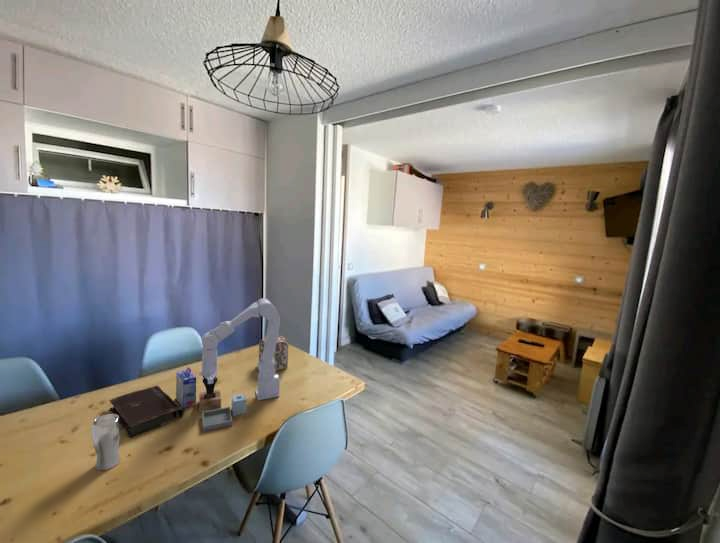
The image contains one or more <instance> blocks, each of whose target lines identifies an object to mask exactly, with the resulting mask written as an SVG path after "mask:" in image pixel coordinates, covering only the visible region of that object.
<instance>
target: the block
mask: <svg viewBox="0 0 720 543" xmlns="http://www.w3.org/2000/svg"><path fill="white" fill-rule="evenodd" d="M231 411H232V412H231V414H232V416H239V415H244V414H247V397H246V394H245V393H241V394H234V395H231Z"/></svg>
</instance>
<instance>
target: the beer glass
mask: <svg viewBox="0 0 720 543" xmlns="http://www.w3.org/2000/svg"><path fill="white" fill-rule="evenodd" d="M120 439H121V425H120V421H119V416H118V415H117V414H113V413H109V414H108V413H107V414H103V415H101V416H98V417H96V418H95V419H93V421H92V422H91V441H92V445H93V448H94V451H95V454H96V463H95V469H96V470H97V471H102V472H103V471H109V470H110V469H112V468H114V467H116V466H117V465H118V464H119V463H120V462H121V456H120V453H119V445H120Z"/></svg>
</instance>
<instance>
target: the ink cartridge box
mask: <svg viewBox="0 0 720 543" xmlns="http://www.w3.org/2000/svg"><path fill="white" fill-rule="evenodd" d="M175 374H176V375H175V378H176V379H175V380H176V382H175V385H176V386H175V399H176V400H177V402H178V404H180V407H181V408H182V409H184V408H188V407H190V406H195V405H197V376H195V374H194V373H193V372H192V370H191V368H190V367H189V366H188V367H187V369H185V370H181V371H177V372H175Z"/></svg>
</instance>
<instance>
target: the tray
mask: <svg viewBox="0 0 720 543" xmlns="http://www.w3.org/2000/svg"><path fill="white" fill-rule="evenodd" d="M231 411H232V409H231V406H227V407H221V408H217V409H211V410H206V411H201V418H202V419H201V420H202V422H201V423H202V433H205V432H210V431H215V430H218V429H223V428H228V427H232V426H233V417H232V416H233V415H232V412H231Z"/></svg>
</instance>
